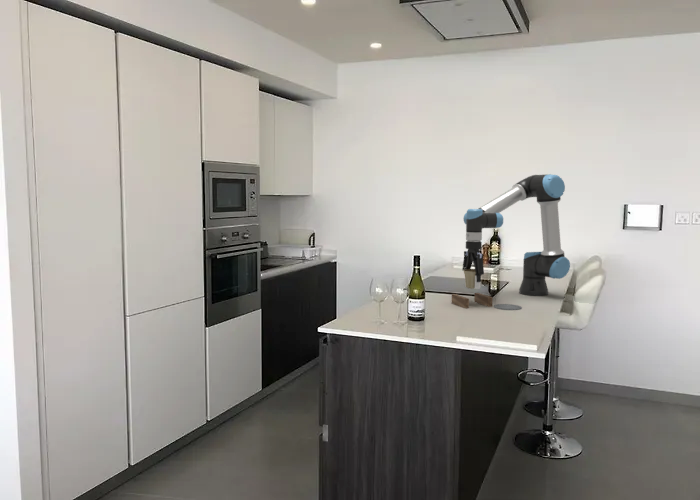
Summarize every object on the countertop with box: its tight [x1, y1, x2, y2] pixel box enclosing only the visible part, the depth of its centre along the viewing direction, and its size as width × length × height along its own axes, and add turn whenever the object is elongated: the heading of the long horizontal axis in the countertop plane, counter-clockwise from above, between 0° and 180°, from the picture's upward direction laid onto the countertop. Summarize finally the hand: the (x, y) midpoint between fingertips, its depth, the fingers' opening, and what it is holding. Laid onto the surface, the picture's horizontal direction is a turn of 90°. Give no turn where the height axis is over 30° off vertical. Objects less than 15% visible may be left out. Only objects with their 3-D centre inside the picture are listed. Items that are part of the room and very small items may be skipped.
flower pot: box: [462, 268, 476, 290], centre depth 288 cm, size 9×9×9 cm
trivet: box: [493, 303, 523, 311], centre depth 284 cm, size 13×13×1 cm
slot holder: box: [451, 292, 493, 309], centre depth 290 cm, size 15×13×4 cm
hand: (472, 287), depth 289 cm, fingers closed on flower pot, 8 cm apart
